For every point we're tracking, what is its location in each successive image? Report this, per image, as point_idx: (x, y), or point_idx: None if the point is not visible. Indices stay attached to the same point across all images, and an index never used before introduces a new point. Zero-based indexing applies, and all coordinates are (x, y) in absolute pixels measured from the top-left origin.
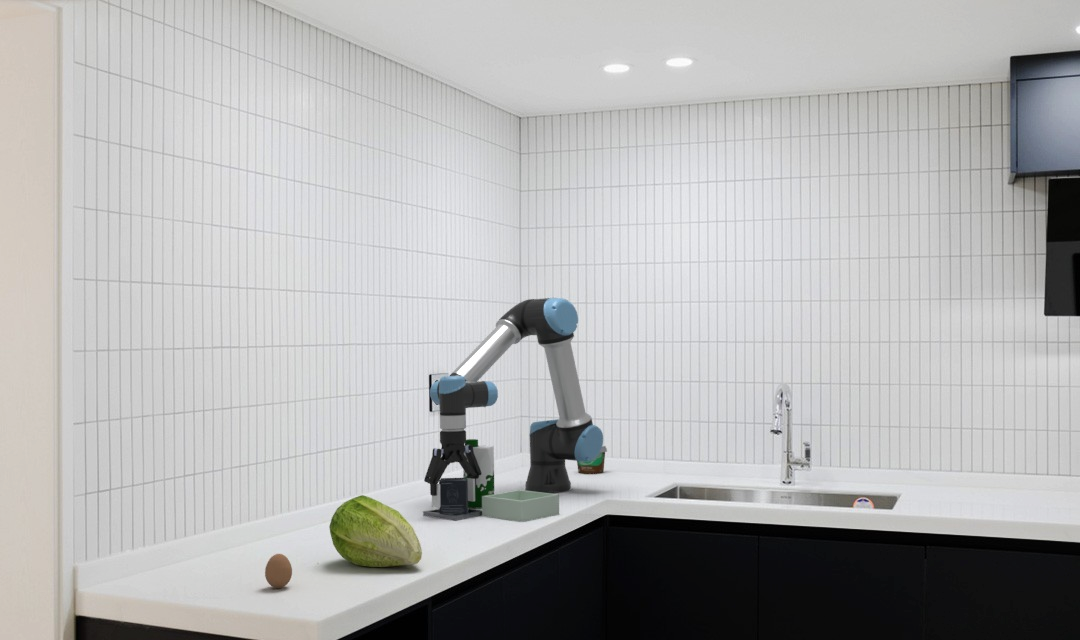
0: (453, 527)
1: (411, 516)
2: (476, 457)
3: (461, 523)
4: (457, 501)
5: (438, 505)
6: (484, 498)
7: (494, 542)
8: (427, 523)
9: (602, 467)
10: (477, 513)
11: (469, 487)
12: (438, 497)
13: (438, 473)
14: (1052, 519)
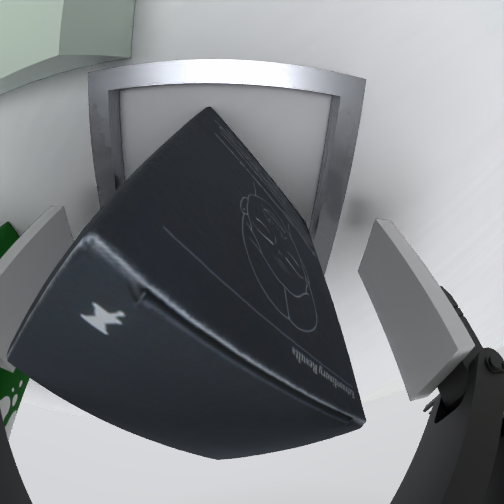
0: (478, 14)
1: (339, 322)
2: None
3: (399, 10)
4: (248, 181)
5: (396, 227)
6: (70, 24)
7: None
8: (459, 168)
9: None
10: (153, 62)
11: (27, 296)
12: (420, 262)
13: (487, 454)
14: None
